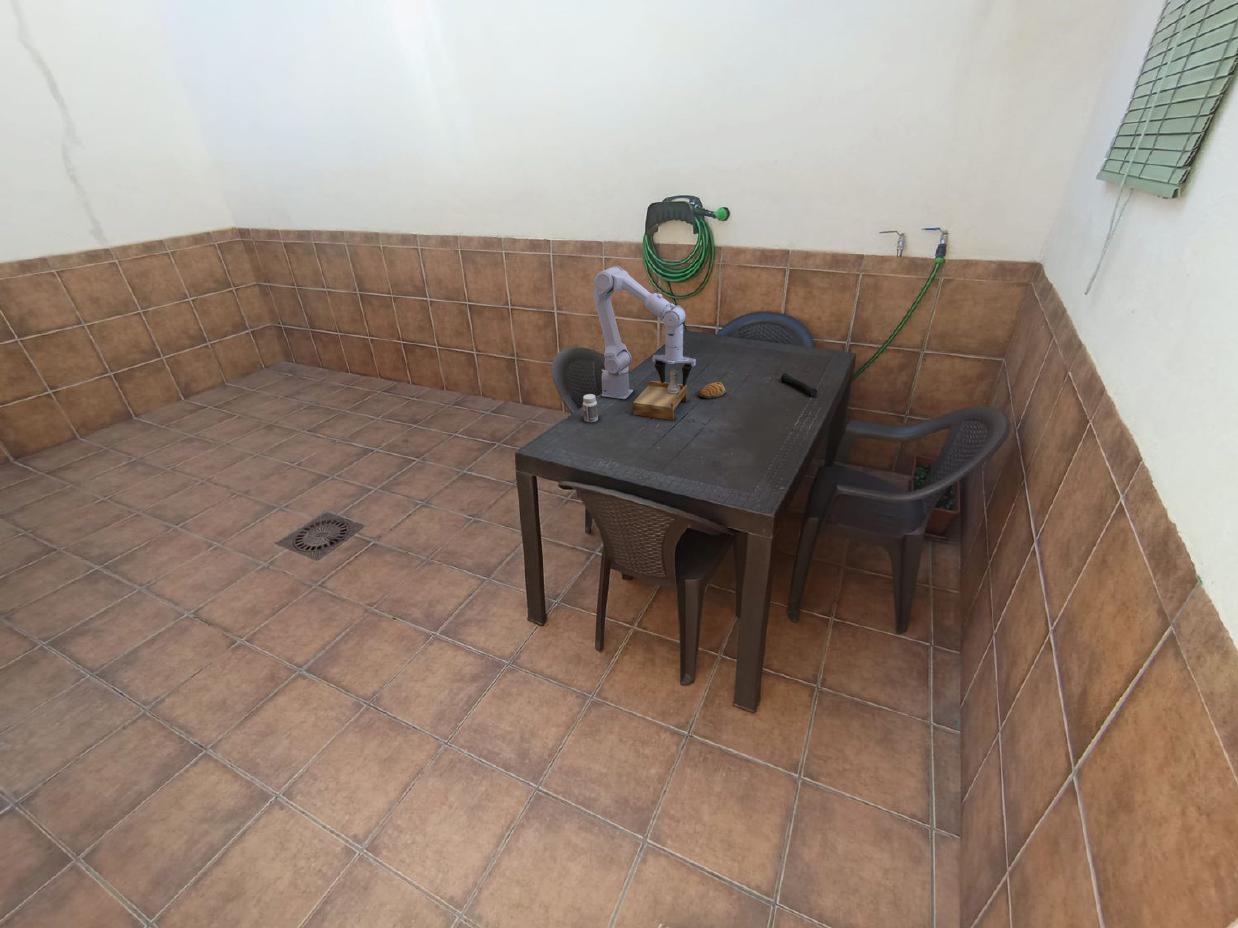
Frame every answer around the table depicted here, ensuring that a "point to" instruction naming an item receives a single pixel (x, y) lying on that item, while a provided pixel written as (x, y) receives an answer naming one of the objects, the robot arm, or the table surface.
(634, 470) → the table surface
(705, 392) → the pastry
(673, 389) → the rook chess piece
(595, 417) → the pill bottle
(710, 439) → the table surface
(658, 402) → the wooden tray
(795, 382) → the flashlight
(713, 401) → the table surface
